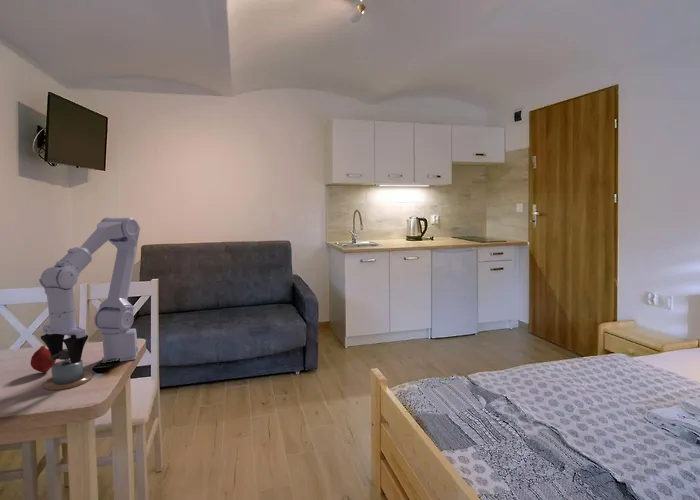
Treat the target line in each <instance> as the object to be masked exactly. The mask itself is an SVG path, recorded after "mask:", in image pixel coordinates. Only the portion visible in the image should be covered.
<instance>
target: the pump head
mask: <svg viewBox="0 0 700 500" xmlns="http://www.w3.org/2000/svg"><path fill="white" fill-rule="evenodd" d="M57 357H59V359H58V360H60V361H64V360H65V362H68V361H69V359H70V357H69V352H68V349H67V348H63V350H60V351H59V353H58V354H55V355H52V356H49V359H54V358H57Z"/></svg>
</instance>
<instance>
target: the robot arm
mask: <svg viewBox="0 0 700 500" xmlns="http://www.w3.org/2000/svg"><path fill="white" fill-rule="evenodd" d="M140 232H141V227H140V225H139V223H138V221H137V220H136V219H135V218H134V217H130V216H129V217H108V216H107V217H103V218H102V219H101V221H99V222H98V223H97V224H96V229H95V230H94V231H93V232H92V234H90V235H89V237H88V238H87V239H86V240H85V241H84V243H83V244H81V246H79V247H78V246H77V247H76V246H75V247H72V248H69V249H68V250H67V253H66V254H65V255H64V256H63V257H62V258H61V259H59V260H58V261H57V262H55V264H54V266H49V267H47V268H46V269H44V271H43V272H42V273H41V275H40V278H39V279H38V280H39V284H40V286H41V287H43V288H44V293H45V295H46V299H47V309H48V317H49V323H47V324H45V325H42V332H43V333H44V334H43V335H41V336H40V339H41V340H42V342H44V344H45V346H46V348H47V349H49V351H50V354H51V356H52V355H55V354H58V353H59V351H60V350H63V349H64V347H63V346H64V345H65V348H66V349H68V352H69V357H70V361H71V363H72V364H74V363H77V362H80V361H81V360H82V357H83V356H82V355H83V351H84V348H85V345H86V342H87V341H88V338H89V335H88V334H86V329H85V328H83V327H81V326H79V325H77V321H76V319H77V318H76V310H75V300H74V289H73V287H74V286H75V285H77V282H78V280H79V279H78V277H79V276H80V273H82V271H83V270H84V269H86V267H87V266H88V265H89V264H90V263H91V262H92V261H93V258H92V255H93V254H94V253H95V252H96V251H98V250H99V249H100V248H101V247H102V246H104V245H105V243H107V242H109V243H111V244H112V245H113V246H114V247H116V251H117V252H116V255H115V259H114V260H115V261H114V265H113V270H112V275H111V281H110V285H109V290H108V293H107V294H108V295H107V298H106V299H105V300H104V301H102V302H101V303H100V304H99V307H98V310H97V311H96V313H95V315H94V319H93V323H94V325H95V327H96V328H97V329H99V332H100V333H101V338H102V339H101V341H102V350H103V351H102V352H103V357H102V360H103V359H105V358H120V362H125V361H132V360H133V361H134V360H136V359H137V356H138V353H139V345H138V335H137V329H136V328H131V327H132V325H133V323H134V320H135V317H134V306H133V305H132V303H131V302H129V300H128V298H129V293H130V287H131V281H132V277H133V272H134V266H135V260H136V257H137V252H138V242H139V238H140ZM65 336H68V337H67V338H65ZM69 336H70V337H69ZM53 360H56V361H57V360H60V359H59V357H57V358H54V359H53ZM102 360H101V361H102Z"/></svg>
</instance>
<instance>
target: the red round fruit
mask: <svg viewBox="0 0 700 500" xmlns="http://www.w3.org/2000/svg"><path fill="white" fill-rule="evenodd" d="M49 356H51V354H50V351H49V349H48V348H47V347H46V345H41V346H40V347H39V348H38V349H37V350H36V351H35V352H34V353H33V354H32V356H31V358H30V366H31V368H32V369H33V370H35V371H37V372H39V373H42V374H44V373H45V374H46V373H48V371H50V370H51V366H52V365H53V364H55V363H57V359H56V360H53V359H49Z"/></svg>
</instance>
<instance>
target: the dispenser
mask: <svg viewBox="0 0 700 500" xmlns="http://www.w3.org/2000/svg"><path fill="white" fill-rule="evenodd" d="M83 363H84V362H83V360H82V359H81V361H80V362H77V363H74V364H72V363H71V361H70V359H69V361H68V362H65V360H60V361H58V362H57V361H56V362H55V364H53V365H52V366H51V368H50V370H51V376H52V377H51V378H49V379H47V380H46V381H45V382H44V383H43V388H44V389H45V390H47V391H62V390H69V389H72V388H76V387H79V386H82V385H84V384H86V383H88V382H90V381H91V380H92V379H93V373H92V372H91V371H86V370H84V365H83Z"/></svg>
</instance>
